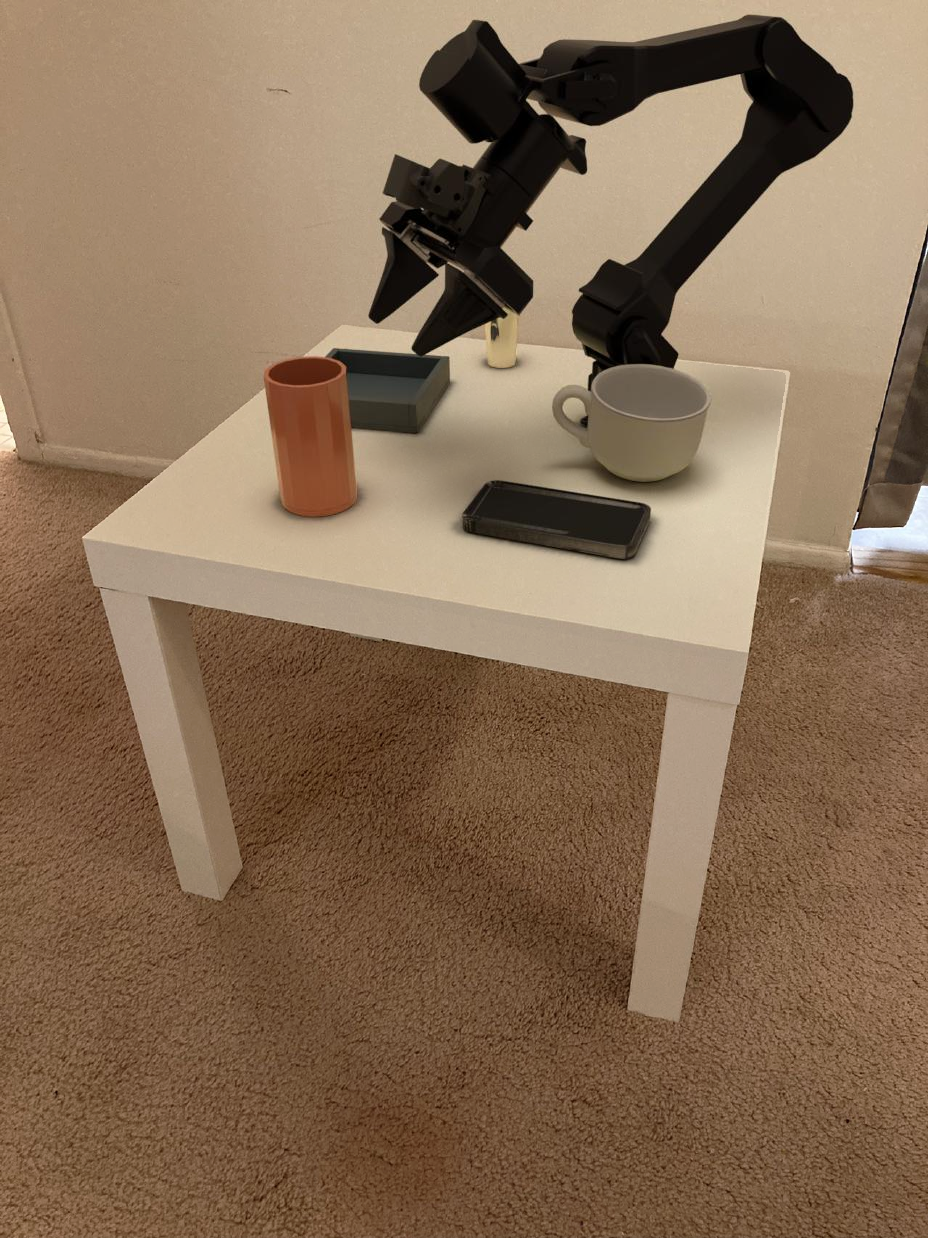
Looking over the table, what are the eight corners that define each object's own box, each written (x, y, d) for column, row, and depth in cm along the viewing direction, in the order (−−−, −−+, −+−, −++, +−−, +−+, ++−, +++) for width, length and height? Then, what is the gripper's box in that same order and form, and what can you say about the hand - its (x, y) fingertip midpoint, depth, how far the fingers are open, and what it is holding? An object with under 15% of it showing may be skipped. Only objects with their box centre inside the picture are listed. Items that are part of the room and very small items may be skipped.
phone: (489, 478, 89) (653, 504, 85) (489, 489, 90) (652, 515, 85) (457, 519, 83) (633, 549, 79) (458, 530, 84) (632, 561, 79)
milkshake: (478, 372, 113) (477, 283, 108) (485, 355, 118) (484, 269, 112) (517, 373, 113) (519, 285, 107) (523, 357, 117) (524, 270, 111)
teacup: (701, 449, 96) (715, 371, 91) (692, 503, 88) (708, 420, 83) (560, 430, 99) (567, 353, 94) (538, 480, 90) (545, 398, 86)
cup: (372, 495, 90) (362, 368, 83) (317, 524, 85) (301, 393, 78) (321, 473, 93) (308, 350, 86) (266, 501, 89) (247, 373, 82)
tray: (450, 382, 111) (449, 356, 109) (417, 433, 100) (415, 404, 98) (335, 373, 114) (333, 347, 112) (291, 422, 103) (288, 394, 101)
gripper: (393, 98, 84) (285, 251, 86) (499, 131, 70) (367, 312, 72) (477, 185, 91) (376, 324, 93) (588, 231, 77) (465, 392, 80)
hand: (393, 336), depth 85 cm, fingers open, 9 cm apart
